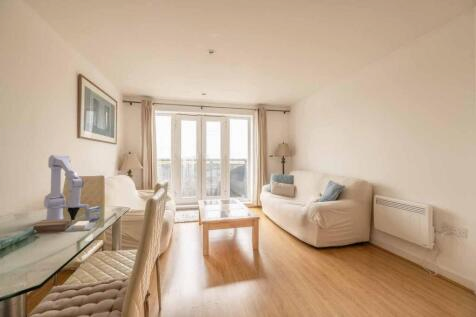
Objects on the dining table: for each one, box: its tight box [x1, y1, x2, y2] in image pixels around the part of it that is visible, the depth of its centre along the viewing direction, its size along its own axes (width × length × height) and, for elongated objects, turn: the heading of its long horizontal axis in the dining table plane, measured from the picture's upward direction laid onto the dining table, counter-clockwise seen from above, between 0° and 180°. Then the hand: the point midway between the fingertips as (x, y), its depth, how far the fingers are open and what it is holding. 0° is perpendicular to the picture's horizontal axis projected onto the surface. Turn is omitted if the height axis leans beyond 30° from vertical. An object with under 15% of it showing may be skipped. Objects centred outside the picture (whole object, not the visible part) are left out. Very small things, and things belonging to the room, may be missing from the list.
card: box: [73, 220, 90, 229], centre depth 127 cm, size 9×6×2 cm, turn 24°
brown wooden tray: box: [32, 218, 73, 234], centre depth 121 cm, size 12×14×4 cm
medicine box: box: [84, 205, 101, 222], centre depth 143 cm, size 8×4×9 cm, turn 168°
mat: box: [64, 221, 97, 233], centre depth 127 cm, size 14×12×1 cm
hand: (73, 219), depth 125 cm, fingers closed
